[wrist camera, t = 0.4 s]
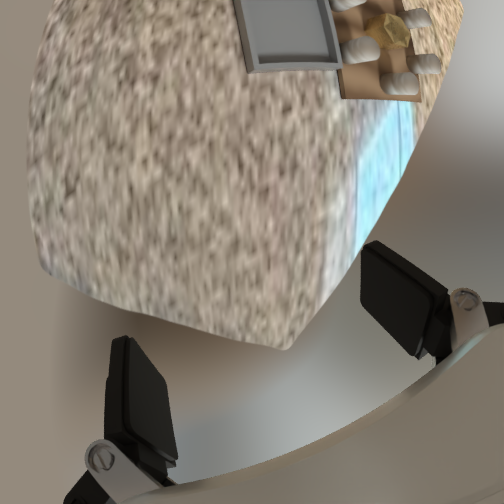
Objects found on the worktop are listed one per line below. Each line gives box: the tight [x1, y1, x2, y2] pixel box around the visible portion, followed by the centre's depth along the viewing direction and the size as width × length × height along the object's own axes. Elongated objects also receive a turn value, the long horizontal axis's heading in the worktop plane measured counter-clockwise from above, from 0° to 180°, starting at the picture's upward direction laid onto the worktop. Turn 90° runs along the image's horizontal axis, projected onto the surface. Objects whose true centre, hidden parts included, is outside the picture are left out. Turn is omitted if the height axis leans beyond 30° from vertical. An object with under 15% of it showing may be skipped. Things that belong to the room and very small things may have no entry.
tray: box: [233, 0, 343, 74], centre depth 28 cm, size 14×14×3 cm
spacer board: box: [328, 0, 441, 102], centre depth 29 cm, size 26×21×7 cm
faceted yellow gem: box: [364, 13, 411, 50], centre depth 29 cm, size 7×6×5 cm
